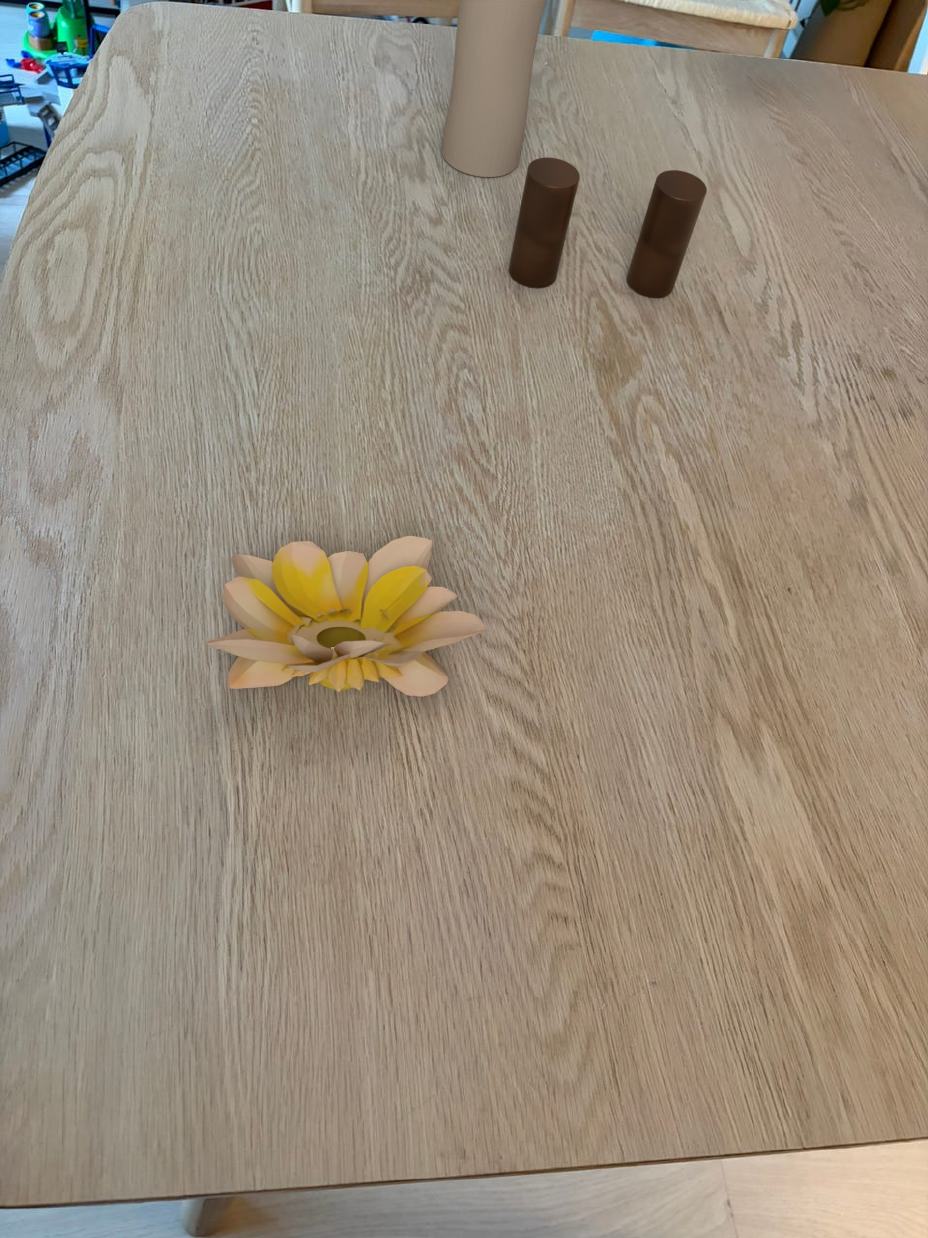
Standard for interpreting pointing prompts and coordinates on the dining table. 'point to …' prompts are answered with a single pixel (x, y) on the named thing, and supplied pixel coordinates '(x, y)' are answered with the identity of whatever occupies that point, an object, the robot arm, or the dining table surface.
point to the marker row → (550, 216)
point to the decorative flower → (341, 618)
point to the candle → (491, 85)
